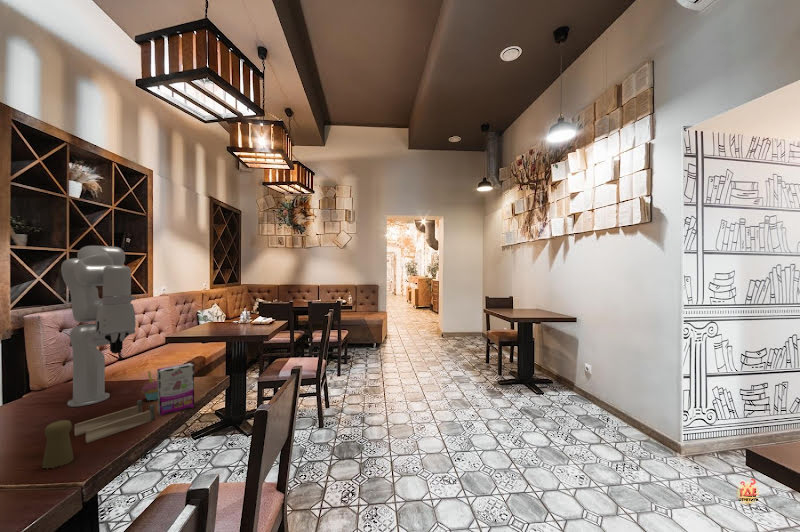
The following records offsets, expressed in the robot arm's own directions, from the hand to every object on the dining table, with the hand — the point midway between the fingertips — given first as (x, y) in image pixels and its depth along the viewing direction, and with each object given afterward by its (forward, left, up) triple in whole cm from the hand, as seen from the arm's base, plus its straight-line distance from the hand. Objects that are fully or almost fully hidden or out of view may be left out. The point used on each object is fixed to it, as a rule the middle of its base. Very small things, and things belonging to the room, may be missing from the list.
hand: (116, 352), depth 115 cm
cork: (+17, -19, -24) cm, 35 cm away
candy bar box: (+8, +15, -24) cm, 30 cm away
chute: (+5, -2, -24) cm, 25 cm away
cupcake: (-13, +17, -24) cm, 32 cm away
